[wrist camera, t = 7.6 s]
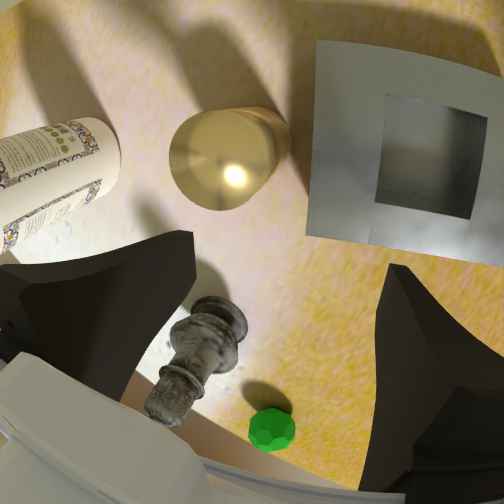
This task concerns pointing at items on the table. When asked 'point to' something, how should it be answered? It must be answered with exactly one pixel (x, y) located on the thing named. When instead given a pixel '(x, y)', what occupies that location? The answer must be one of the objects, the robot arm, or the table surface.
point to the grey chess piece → (196, 358)
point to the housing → (407, 153)
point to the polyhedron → (271, 430)
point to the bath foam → (53, 174)
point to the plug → (228, 155)
